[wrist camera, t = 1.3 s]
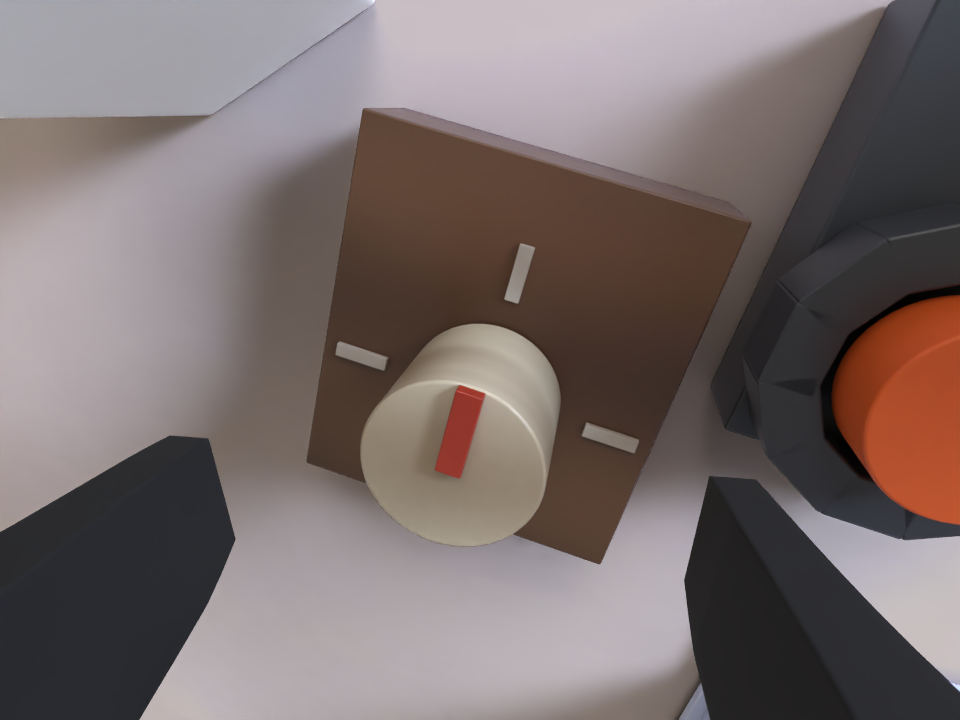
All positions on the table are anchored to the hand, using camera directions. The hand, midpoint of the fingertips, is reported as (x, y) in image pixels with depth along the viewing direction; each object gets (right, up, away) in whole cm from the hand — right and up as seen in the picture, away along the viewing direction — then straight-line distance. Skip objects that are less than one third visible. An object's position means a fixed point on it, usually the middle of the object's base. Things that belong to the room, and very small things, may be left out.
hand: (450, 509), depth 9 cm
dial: (+1, +1, +7) cm, 7 cm away
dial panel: (+1, +3, +9) cm, 10 cm away
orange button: (+10, +2, +4) cm, 11 cm away
